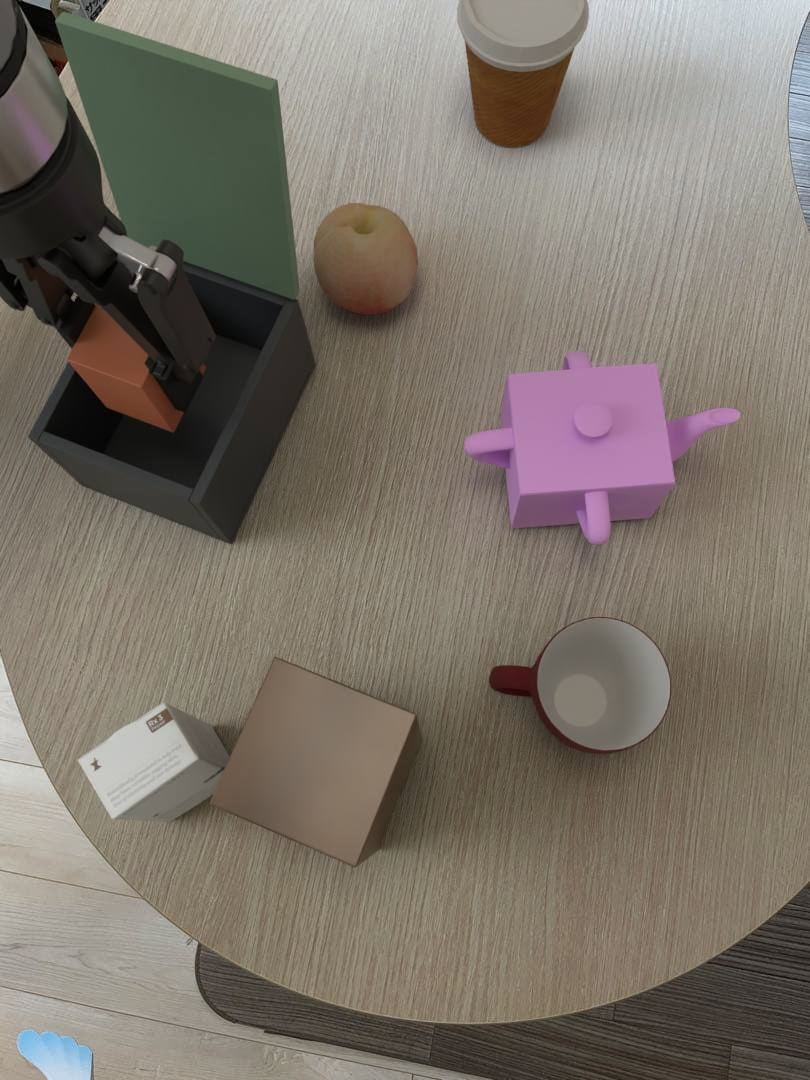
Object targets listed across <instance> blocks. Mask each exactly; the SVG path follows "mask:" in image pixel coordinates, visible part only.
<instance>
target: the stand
mask: <svg viewBox="0 0 810 1080" xmlns="http://www.w3.org/2000/svg"><path fill="white" fill-rule="evenodd" d="M422 741H423V735H422V731H421V727H420V723H419V719H418V715H417V713H415V712H412V711H410V710H407V709H405V708H403V707H400V706H398V705H395V704H393V703H390V702H388V701H385V700H383V699H381V698H378V697H375V696H373V695H371V694H368V693H366V692H364V691H361V690H359V689H357V688H353V687H352V686H350V685H346V684H343V683H341V682H339V681H336V680H334V679H331V678H329V677H326V676H324V675H321V674H320V673H317V672H314V671H312V670H309V669H307V668H304V667H303V666H300V665H298V664H294V663H292V662H290V661H287V660H285V659H283V658H280V657H278V656H274V657H273V659H272V661H271V664H270V666H269V668H268V670H267V673H266V675H265V677H264V679H263V681H262V684H261V686H260V688H259V691H258V693H257V695H256V697H255V700H254V702H253V704H252V707H251V709H250V711H249V713H248V715H247V718H246V719H245V722H244V724H243V727H242V729H241V731H240V733H239V736H238V738H237V740H236V743H235V745H234V747H233V749H232V752H231V754H230V755H229V756H230V758H229V760H228V763H227V765H226V767H225V770H224V772H223V774H222V776H221V779H220V781H219V783H218V785H217V788H216V790H215V792H214V794H212V796H211V799H210V802H209V805H210V806H212V807H214V808H216V809H219V810H221V811H224V812H226V813H228V814H230V815H233V816H235V817H238V818H240V819H242V820H244V821H246V822H249V823H251V824H253V825H256V826H258V827H260V828H263V829H265V830H267V831H270V832H272V833H275V834H277V835H278V836H281V837H284V838H286V839H288V840H290V841H292V842H295V843H297V844H299V845H302V846H304V847H306V848H309V849H311V850H313V851H316V852H318V853H319V854H323V855H325V856H327V857H329V858H332V859H334V860H336V861H339V862H341V863H343V864H346V865H348V866H350V867H353V868H358V866H360V865H361V864H362V863H363V862H365V861H367V860H368V859H369V858H371V857H372V856H373V855H374V854H376V853H377V852H378V851H379V850H380V848H381V846H382V843H383V840H384V839H385V835H386V833H387V830H388V827H389V825H390V822H391V820H392V817H393V815H394V812H395V810H396V807H397V805H398V802H399V800H400V797H401V794H402V792H403V789H404V787H405V784H406V782H407V779H408V777H409V775H410V771H411V769H412V767H413V764H414V762H415V759H416V756H417V754H418V751H419V749H420V747H421V743H422Z"/></svg>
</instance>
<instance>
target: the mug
mask: <svg viewBox="0 0 810 1080" xmlns="http://www.w3.org/2000/svg"><path fill="white" fill-rule="evenodd" d="M670 672H671V671H670V668H669V665H668V663H667V660H666V658H665V656H664V654H663V652H662V650H661V649H660V648H659V646H658V645H657V644H656V642H655V641H654V640H653V639H652V638H651V637H650V636H649V635H648V634H647V633H646V632H644V631H643V630H642V629H640V628H639V627H637V626H636V625H634V624H631V623H629V622H627V621H625V620H622V619H619V618H616V617H615V618H614V617H608V616H592V617H587V618H582V619H579V620H576V621H574V622H571V623H569V624H568V625H566V626H564V627H563V628H561V629H560V630H559V631H557V632H556V633H555V634H554V635H553V636H552V637H551V638H550V639H549V641H548V642H547V643H546V644H545V646H544V647H543V648H542V650H541V651H540V653H539V655H538V657H537V658H536V660H535V662H534V664H533V665H532V666H523V665H513V664H503V665H502V664H501V665H496V666H494V667H493V668H491V670H490V672H489V677H488V682H489V687H490V688H491V690H493V691H494V692H497V693H500V694H503V695H507V696H512V697H513V696H514V697H522V698H523V697H524V698H531V699H532V703H533V706H534V709H535V711H536V714H537V716H538V718H539V720H540V721H541V723H542V724H543V726H544V727H545V728H546V729H547V731H548V732H549V733H550V734H551V736H553V737H554V738H555V739H556V740H558V741H559V742H561V743H562V744H563V745H565V746H567V747H569V748H571V749H573V750H576V751H578V752H582V753H586V754H591V755H611V754H617V753H620V752H623V751H627V750H629V749H631V748H634V747H636V746H637V745H640V744H641V743H643V742H644V741H646V740H647V739H649V737H650V736H652V735H653V734H654V733H655V732H656V730H657V729H658V728H659V727H660V725H661V724H662V722H663V721H664V719H665V717H666V715H667V713H668V710H669V707H670V703H671V699H672V698H671V697H672V678H671V673H670Z"/></svg>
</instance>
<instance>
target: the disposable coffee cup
mask: <svg viewBox="0 0 810 1080" xmlns="http://www.w3.org/2000/svg"><path fill="white" fill-rule="evenodd" d="M456 16H457V25H458V29H459V30H460V33H461V35H462V38H463V40H464V44H465V54H466V61H467V63H466V64H467V67H468V68H467V71H468V76H469V77H468V78H469V83H470V85H469V86H470V93H471V101H472V109H473V118H474V123H475V126H476V129H477V130H478V132H479V134H481V136H482V137H483V138H484V139H486V140H487V141H488V142H490V143H492V144H494V145H497V146H500V147H504V148H520V147H525V146H528V145H530V144H532V143H534V142H535V141H537V140H539V139H540V138H541V137H542V136H543V135H544V133H546V131H547V129H548V127H549V124H550V120H551V118H552V115H553V112H554V109H555V106H556V104H557V100H558V98H559V94H560V91H561V88H562V86H563V82H564V80H565V77H566V75H567V71H568V68H569V65H570V63H571V60H572V57H573V55H574V54H573V53H574V50H575V48H576V46H577V45H578V44H579V43H580V42H581V40H582V39H583V36H584V35H585V32H586V30H587V28H588V23H589V19H590V8H589V3H588V0H458V2H457V7H456Z"/></svg>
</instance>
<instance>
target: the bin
mask: <svg viewBox="0 0 810 1080" xmlns="http://www.w3.org/2000/svg"><path fill="white" fill-rule="evenodd" d="M182 269H183V271H184V273H185V275H186V277H187V279H188V281H189V283H190V285H191V287H192V289H193V291H194V293H195V295H196V297H197V299H198V301H199V303H200V305H201V307H202V309H203V311H204V313H205V315H206V317H207V319H208V321H209V323H210V325H211V327H212V329H213V331H214V333H215V335H216V338H215V340H214V342H213V344H212V346H211V348H210V350H209V352H208V354H207V356H206V358H205V360H204V362H203V363H204V365H205V367H206V370H205V372H204V374H203V379H202V381H201V383H200V385H199V387H198V389H197V391H196V393H195V395H194V397H193V399H192V401H191V403H190V405H189V407H188V409H187V411H186V413H184V414H183V416H182V418H181V420H180V422H179V424H178V426H177V428H176V430H175V432H174V433H173V432H170V431H168V430H165V429H162V428H160V427H157V426H154V425H152V424H149V423H146V422H144V421H141V420H138V419H136V418H133V417H131V416H128V415H125V414H123V413H120V412H117V411H115V410H112V409H109V408H107V407H106V406H105V405H104V404H103V402H102V401H101V400H100V399H99V398H98V396H97V395H96V394H95V393H94V392H93V390H92V389H91V388H90V387H89V386H88V384H87V383H86V382H85V381H84V380H83V378H82V377H81V376H80V375H79V374H78V373H77V371H76V370H75V369H74V368H73V367H72V365H71V364H70V363H69V362H68V361H67V363H66V365H65V367H64V368H63V371H62V373H60V376H59V378H58V379H57V382H56V383H55V385H54V387H53V389H52V391H51V393H50V394H49V397H48V399H47V400H46V402H45V404H44V406H43V407H42V409H41V411H40V413H39V415H38V416H37V419H36V421H35V422H34V424H33V426H32V428H31V429H30V432H29V433H28V435H27V438H28V439H29V440H30V441H31V442H32V443H34V445H36V446H37V447H38V448H39V449H40V450H41V451H42V452H43V453H45V454H46V455H47V456H48V457H49V458H50V459H51V460H53V461H54V462H55V463H56V464H57V465H58V466H60V468H61V469H62V470H64V472H66V473H67V474H68V475H69V476H70V477H72V478H73V479H74V480H75V481H76V482H77V483H78V484H79V485H80V486H81V487H84V488H86V489H89V490H92V491H94V492H96V493H99V494H102V495H104V496H107V497H109V498H111V499H115V500H117V501H120V502H122V503H125V504H127V505H130V506H132V507H135V508H138V509H140V510H143V511H145V512H148V513H151V514H153V515H155V516H158V517H161V518H163V519H166V520H168V521H171V522H173V523H175V524H179V525H181V526H183V527H186V528H189V529H191V530H194V531H196V532H199V533H201V534H204V535H207V536H209V537H211V538H213V539H216V540H219V541H222V542H224V543H226V544H229V545H233V543H234V542H235V539H236V537H237V534H238V533H239V531H240V528H241V526H242V524H243V522H244V519H245V518H246V516H247V513H248V511H249V509H250V507H251V505H252V503H253V501H254V498H255V496H256V495H257V492H258V490H259V488H260V486H261V484H262V481H263V479H264V477H265V475H266V473H267V471H268V468H269V466H270V464H271V462H272V460H273V458H274V456H275V453H276V451H277V449H278V447H279V444H280V443H281V440H282V438H283V436H284V434H285V432H286V430H287V428H288V425H289V423H290V421H291V420H292V417H293V415H294V413H295V411H296V409H297V406H298V404H299V402H300V400H301V399H302V396H303V394H304V392H305V389H306V388H307V385H308V383H309V381H310V378H311V376H312V375H313V372H314V370H315V368H316V366H317V362H316V359H315V355H314V352H313V348H312V345H311V342H310V338H309V333H308V331H307V328H306V324H305V319H304V316H303V312H302V309H301V305H300V301H299V300H298V299H297V298H296V299H295V300H293V299H290V298H288V297H285V296H282V295H279V294H276V293H273V292H271V291H268V290H265V289H262V288H259V287H256V286H253V285H251V284H248V283H245V282H242V281H239V280H236V279H234V278H231V277H228V276H225V275H222V274H219V273H217V272H214V271H211V270H208V269H205V268H202V267H199V266H197V265H194V264H191V263H188V262H185V261H183V267H182Z"/></svg>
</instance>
